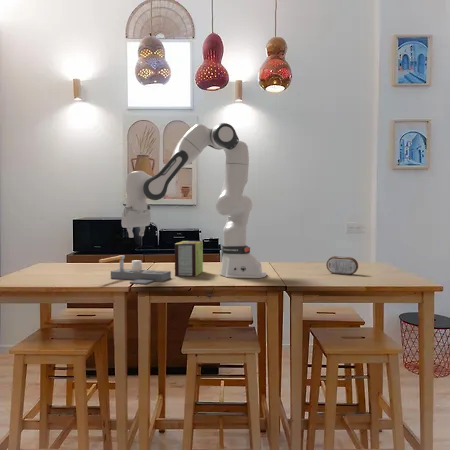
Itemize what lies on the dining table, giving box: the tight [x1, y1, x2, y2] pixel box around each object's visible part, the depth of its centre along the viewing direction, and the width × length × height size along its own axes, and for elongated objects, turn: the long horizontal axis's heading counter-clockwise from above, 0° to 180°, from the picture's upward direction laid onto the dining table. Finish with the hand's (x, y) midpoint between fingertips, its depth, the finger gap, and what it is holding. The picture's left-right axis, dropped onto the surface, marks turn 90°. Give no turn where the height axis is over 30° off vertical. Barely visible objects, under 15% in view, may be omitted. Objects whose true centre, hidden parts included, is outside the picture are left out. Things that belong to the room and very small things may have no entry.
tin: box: [326, 255, 359, 276], centre depth 212 cm, size 15×3×8 cm, turn 65°
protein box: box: [174, 240, 204, 277], centre depth 212 cm, size 10×15×16 cm
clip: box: [98, 254, 126, 264], centre depth 195 cm, size 18×3×1 cm, turn 160°
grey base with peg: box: [110, 258, 172, 283], centre depth 199 cm, size 26×9×9 cm, turn 72°
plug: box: [131, 259, 143, 272], centre depth 200 cm, size 4×4×8 cm
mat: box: [129, 279, 156, 286], centre depth 189 cm, size 8×8×1 cm
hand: (136, 236), depth 199 cm, fingers open, 8 cm apart
